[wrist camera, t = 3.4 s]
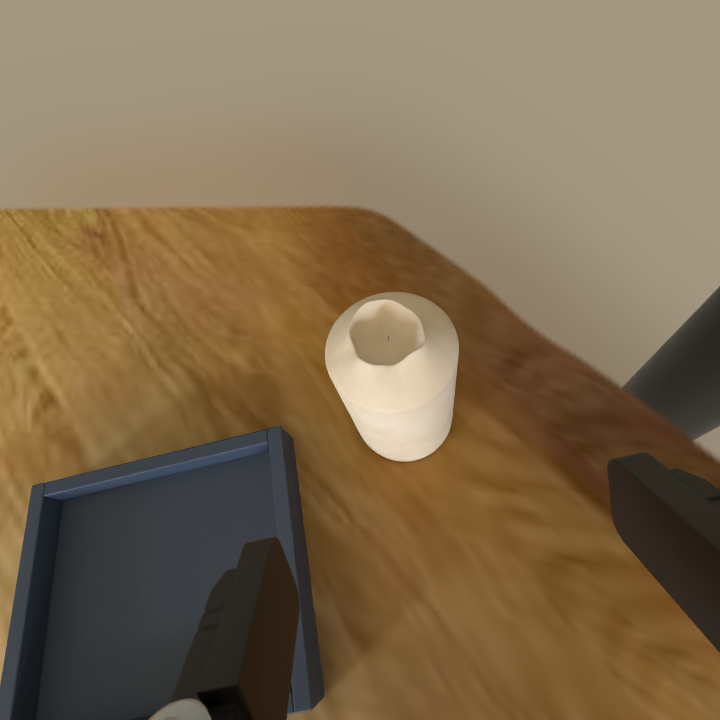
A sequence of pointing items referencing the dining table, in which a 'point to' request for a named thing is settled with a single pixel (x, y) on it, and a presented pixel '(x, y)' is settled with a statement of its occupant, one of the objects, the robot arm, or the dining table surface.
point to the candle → (396, 372)
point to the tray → (146, 577)
